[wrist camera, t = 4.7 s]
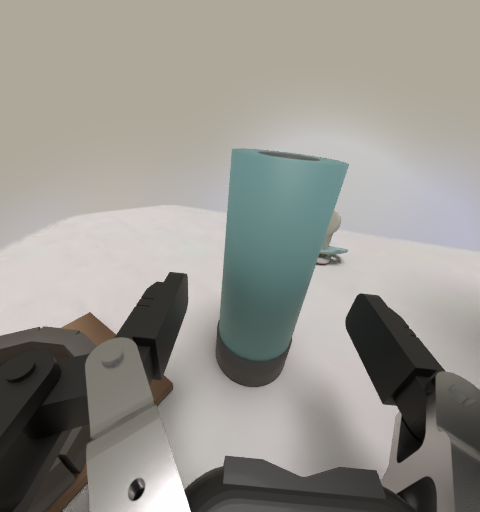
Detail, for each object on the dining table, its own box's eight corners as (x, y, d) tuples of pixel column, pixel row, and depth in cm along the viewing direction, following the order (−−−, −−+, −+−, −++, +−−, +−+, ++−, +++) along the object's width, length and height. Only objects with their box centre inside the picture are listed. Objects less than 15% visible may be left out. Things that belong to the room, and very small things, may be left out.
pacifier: (313, 271, 26) (349, 264, 29) (328, 224, 23) (366, 220, 25) (282, 244, 32) (313, 240, 34) (290, 204, 29) (324, 202, 31)
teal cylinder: (239, 315, 18) (262, 148, 12) (294, 345, 16) (358, 162, 10) (201, 357, 15) (204, 147, 8) (265, 404, 12) (339, 169, 6)
